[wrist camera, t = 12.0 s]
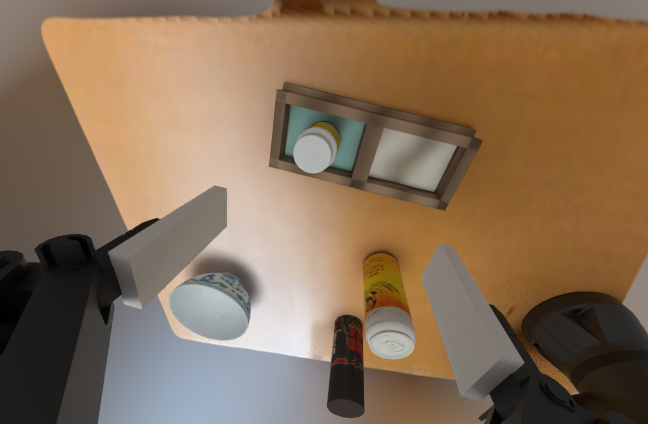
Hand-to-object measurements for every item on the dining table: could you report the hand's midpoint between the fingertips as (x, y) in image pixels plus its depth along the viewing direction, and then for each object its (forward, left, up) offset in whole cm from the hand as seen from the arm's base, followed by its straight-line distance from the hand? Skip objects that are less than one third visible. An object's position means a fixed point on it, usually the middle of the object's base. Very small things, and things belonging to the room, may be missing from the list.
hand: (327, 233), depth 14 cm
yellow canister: (-11, +18, -21) cm, 30 cm away
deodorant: (-10, +36, -21) cm, 43 cm away
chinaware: (+17, +33, -21) cm, 42 cm away
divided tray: (-3, -1, -21) cm, 21 cm away
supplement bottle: (+3, -1, -20) cm, 20 cm away
